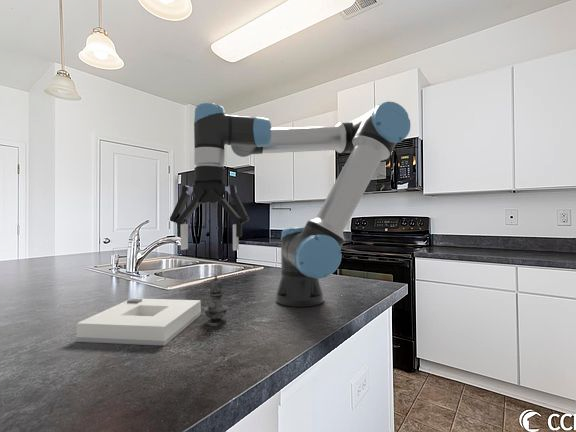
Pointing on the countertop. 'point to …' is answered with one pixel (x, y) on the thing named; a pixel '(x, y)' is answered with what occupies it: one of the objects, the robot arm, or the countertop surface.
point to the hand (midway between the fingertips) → (209, 249)
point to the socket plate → (140, 322)
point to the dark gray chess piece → (215, 304)
